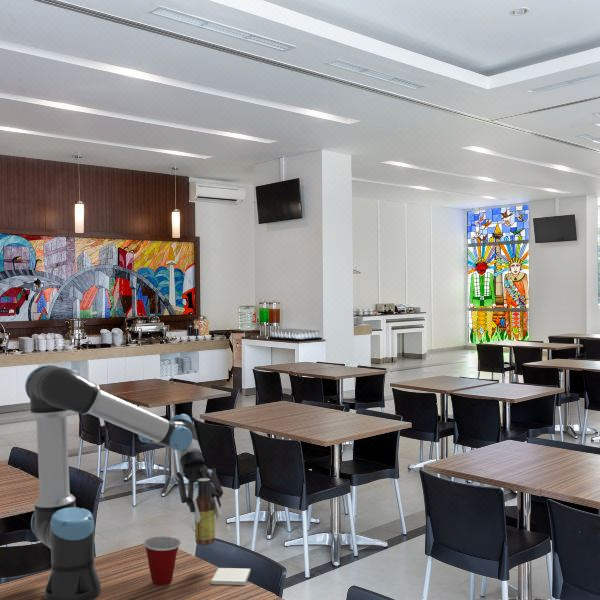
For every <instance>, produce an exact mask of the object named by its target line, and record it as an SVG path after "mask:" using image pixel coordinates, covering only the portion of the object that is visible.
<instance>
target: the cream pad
mask: <svg viewBox="0 0 600 600" xmlns="http://www.w3.org/2000/svg"><path fill="white" fill-rule="evenodd" d="M250 573H251V568H238V567H235V568H233V567H218V568H217V570H216V572H215V574H214V575H213V577H212V579H211V581H210V582H211V585H229V586H230V585H232V586H233V585H235V586H236V585H237V586H239V585H240V586H246V584H247V581H248V579H249V576H250Z"/></svg>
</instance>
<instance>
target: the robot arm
mask: <svg viewBox="0 0 600 600" xmlns="http://www.w3.org/2000/svg"><path fill="white" fill-rule="evenodd" d="M24 388H25V393H26V395H27V397H28V398H29V400H30V401H29V402H30V413H31V415H33V416H34V417H35V418H36V420H35V421H36V439H37V440H36V441H37V461H38V463H37V464H38V486H39V488H38V489H39V497H38V498H37V499H36V500H35V502H34V511H33V514H32V515H31V519H30V527H31V531H32V533H33V535H34V536H35V538H36V539H37V540H38V542H41V543H42V544H43V545H45V546H46V547H47V548H49V549H50V555H51V556H50V559H51V560H50V561H51V562H50V563H51V565H50V567H51V569H50V570H51V571H50V573H49V577H48V580H47V583H46V585H45V586H46V587H45V589H44V600H94V599H96V598H97V597H98V596H99V595H100V594H101V581H100V578H99V576H98V573H97V570H96V567H95V566H96V565H95V521H94V516H93V513H92V512H91V511H90V510H89V509H86V508H83V507H81V508H80V507H77V506H76V497H75V496H74V495H73V494H71V492H70V491H71V490H70V469H69V468H70V467H69V463H70V462H69V442H68V441H69V440H68V418H67V415H68V414H69V412H75V413H77V414H79V415H82V416H85V415H87V414H88V415H91V416H94V417H96V418H99V419H101V420H103V421H106V422H107V423H108V422H109V423H110V424H112V425H115V426H117V427H120V428H122V429H124V430H127V431H130V432H132V433H134V434H137V437H138V439H139V441H140V442H141V443H148V444H150V443H151V444H157V445H160V446H163V447H167V448H170V449H172V450H174V451H176V452H177V456H178V458H179V463H180V467H181V469H182V471H181V472H180V471H177V472H176V474H175V477H174V479H175V481H176V482H177V486H178V491H179V496H180V502H181V503H182V504H186V505H187V506H188V509H189V512H190V513H193V516H194V521H195V520H196V523H199V521H200V519H201V516H200V513H199V509H198V506H197V502H196V499H194V489H195V483H198V479H201V478H208V479H209V477H210V482H211V483H210V493H211V496H212V499H213V502H214V509H215V519H216V520H217V521H218V520H220V519H221V517H222V512H221V507H222V503H221V501H220V499H221V498H222V497H223V495H224V490H223V488H222V485H221V483H220V481H219V479H218V475H217V469H216V468H215V467H212V469H211V468H208V467H207V466H206V464H205V459H204V457H203V456H204V455H203V454H202V450H201V446H200V444H199V441H198V437H197V433H196V430H195V426H194V423H193V421H192V419H191V417H190V416H189V415H188V414H186V413H181V414H179V415H178V414H176V415H174V416H172V417H171V418H170V420H168V419H166V418H164V417H162V416H159V415H158V414H155V413H153V412H151V411H149V410H146V409H144V408H142V407H140V406H138V405H135V404H133V403H132V402H128V401H126V400H124V399H122V398H120V397H117V396H115V395H113V394H111V393H109V392H106V391H104V390H102V389H100V386H99V384H97V383H95V382H93V381H90V379H87V378H86V377H84V376H81V375H80V374H78V373H76V372H75V371H74V370H71V369H70V368H67V367H60V366H56V365H53V364H52V365H50V364H48V365H42V366H38V367H35V369H33V370H32V371H31V372H30V373H29V374H28V376H27V378H26V379H25V384H24ZM207 475H208V476H207ZM184 478H185V479H186V480H188V481H187V482H188V483H187V487H188V488H187V490H186V485H185V480H184Z"/></svg>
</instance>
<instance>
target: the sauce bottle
mask: <svg viewBox="0 0 600 600" xmlns="http://www.w3.org/2000/svg"><path fill="white" fill-rule="evenodd" d="M210 483H211V484H212V481H211V478H209V477H208V478H201V479H198V482H197V485H198V486H197V487H198V488H197V497H196V499H195V500H196V502H197V506H198V509H199V513H200V516H201V519H200V521H199V523H196V520H195V519H194V538H195V544H197V545H198V546H210V545H212V544H215V540H216V525H215V524H216V515H215V509H214V502H213V499H212V496H211V493H210Z"/></svg>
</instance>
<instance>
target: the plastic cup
mask: <svg viewBox="0 0 600 600" xmlns="http://www.w3.org/2000/svg"><path fill="white" fill-rule="evenodd" d="M143 545H144V547H145V551H146V556H147V561H148V569H149V573H150V579H151V581H152V584H154V585H155V586H164V585H169V584H171V582H173V581H172V580H173V579H174V577H173V576H174V572H175V571H174V570H175V567H176V559H177V553H178V550H179V547H180V545H181V540H179V539H177V538H176V537H172V536H163V535H162V536H161V535H160V536H154V537H149V538H148V539H145V541H144V542H143Z"/></svg>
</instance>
